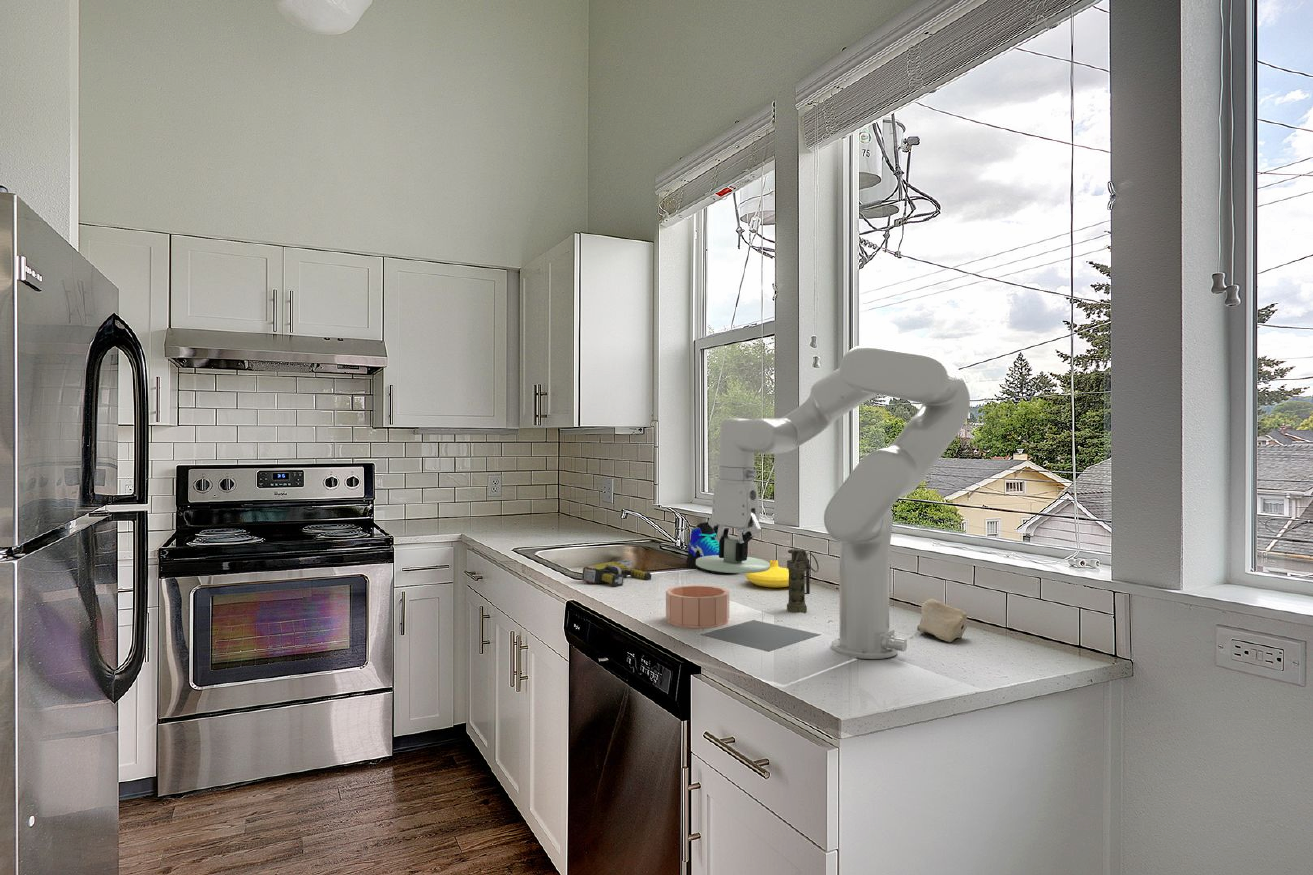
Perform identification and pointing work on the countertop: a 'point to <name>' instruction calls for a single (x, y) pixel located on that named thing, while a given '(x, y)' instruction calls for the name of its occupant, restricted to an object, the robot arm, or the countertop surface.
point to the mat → (760, 635)
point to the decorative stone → (942, 620)
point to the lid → (732, 561)
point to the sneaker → (702, 546)
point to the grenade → (798, 580)
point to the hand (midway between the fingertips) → (732, 558)
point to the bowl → (697, 606)
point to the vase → (771, 576)
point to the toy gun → (612, 573)
